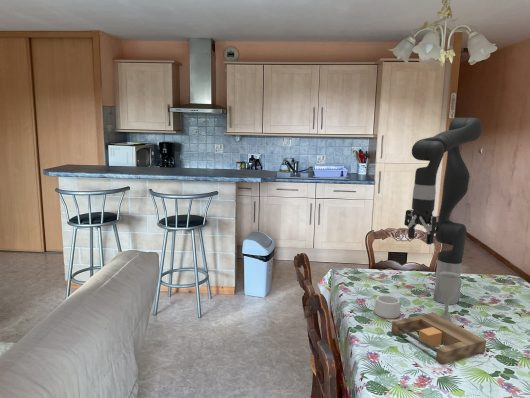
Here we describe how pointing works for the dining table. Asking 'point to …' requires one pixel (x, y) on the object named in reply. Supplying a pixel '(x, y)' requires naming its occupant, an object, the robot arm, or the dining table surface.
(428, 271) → the dining table surface
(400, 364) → the dining table surface
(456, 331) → the shelf
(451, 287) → the chalice
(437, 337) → the tall cardboard carton
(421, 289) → the dining table surface
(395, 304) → the mug
